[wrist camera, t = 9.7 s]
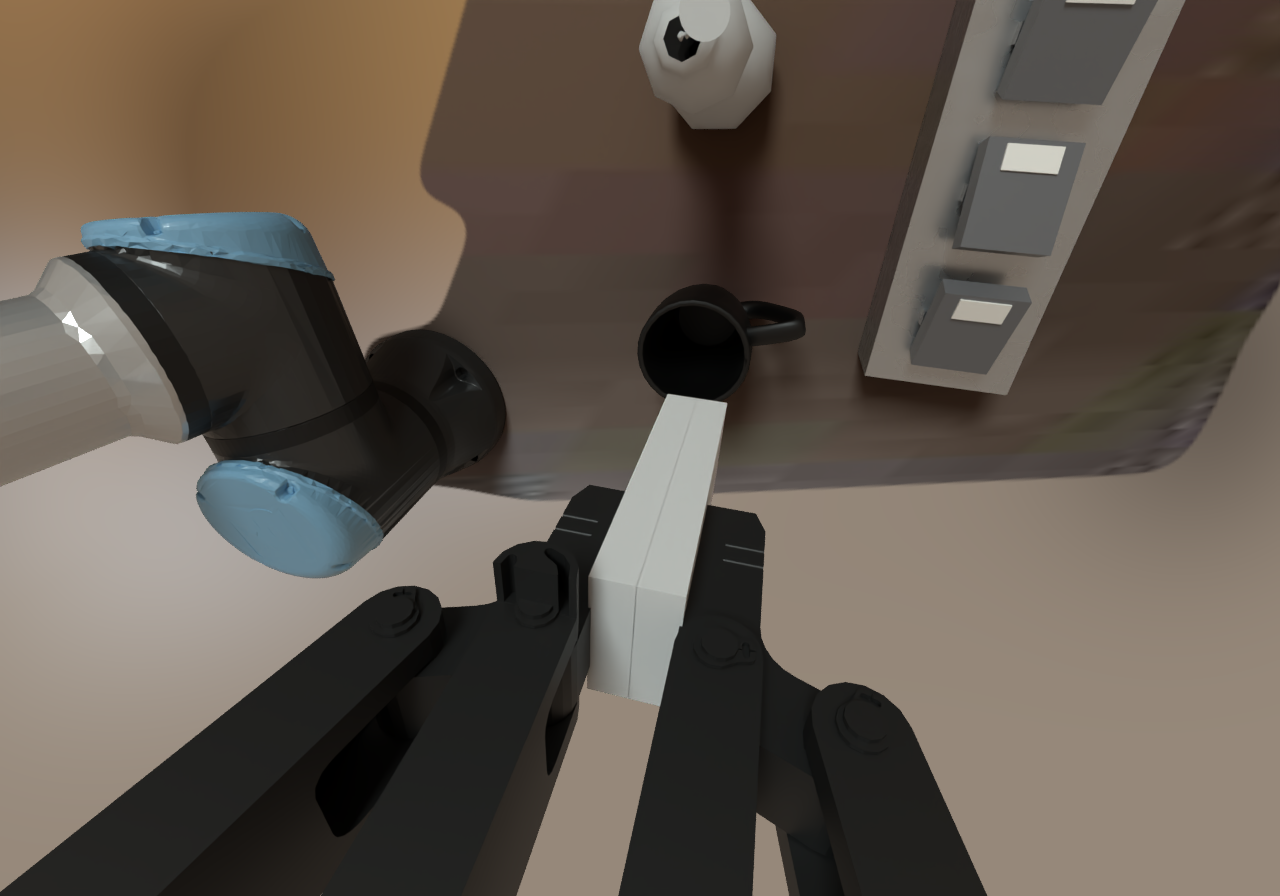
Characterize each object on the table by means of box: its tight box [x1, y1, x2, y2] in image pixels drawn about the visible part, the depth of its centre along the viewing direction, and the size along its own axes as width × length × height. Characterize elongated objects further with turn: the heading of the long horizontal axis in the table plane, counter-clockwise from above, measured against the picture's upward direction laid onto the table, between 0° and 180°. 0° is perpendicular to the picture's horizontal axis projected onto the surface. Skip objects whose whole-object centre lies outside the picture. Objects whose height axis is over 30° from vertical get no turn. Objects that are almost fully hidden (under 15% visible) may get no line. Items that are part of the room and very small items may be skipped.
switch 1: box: [997, 0, 1158, 105], centre depth 29 cm, size 5×6×2 cm
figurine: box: [639, 0, 776, 129], centre depth 30 cm, size 8×8×20 cm
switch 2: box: [952, 136, 1086, 257], centre depth 33 cm, size 5×6×2 cm
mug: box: [637, 284, 806, 402], centre depth 43 cm, size 8×12×10 cm
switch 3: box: [910, 279, 1032, 375], centre depth 37 cm, size 5×6×2 cm
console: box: [858, 0, 1185, 395], centre depth 36 cm, size 10×26×6 cm, turn 177°
